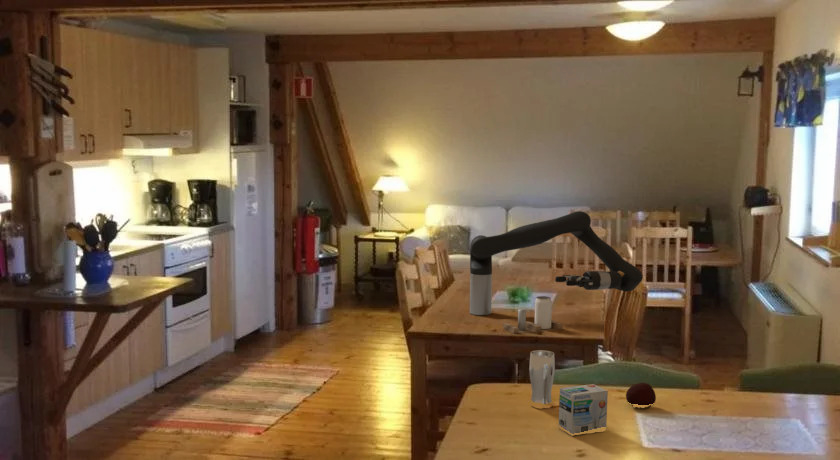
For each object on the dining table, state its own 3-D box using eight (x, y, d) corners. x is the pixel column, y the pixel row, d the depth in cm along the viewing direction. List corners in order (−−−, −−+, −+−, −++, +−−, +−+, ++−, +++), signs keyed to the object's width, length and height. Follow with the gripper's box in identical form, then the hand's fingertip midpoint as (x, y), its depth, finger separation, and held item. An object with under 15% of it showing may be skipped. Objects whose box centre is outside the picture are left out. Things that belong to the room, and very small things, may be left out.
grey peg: (516, 329, 325) (516, 309, 324) (523, 328, 326) (523, 308, 325) (520, 331, 322) (520, 310, 321) (527, 330, 323) (527, 309, 322)
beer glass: (538, 411, 229) (539, 357, 228) (523, 404, 235) (524, 351, 234) (558, 407, 233) (560, 354, 231) (544, 400, 239) (545, 348, 237)
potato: (619, 405, 235) (620, 381, 234) (644, 402, 238) (645, 378, 237) (636, 413, 228) (637, 388, 227) (661, 409, 231) (662, 385, 231)
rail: (502, 331, 326) (503, 323, 326) (550, 327, 334) (550, 319, 333) (513, 336, 318) (513, 328, 317) (562, 331, 325) (562, 324, 325)
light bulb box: (572, 437, 209) (573, 395, 208) (557, 428, 216) (558, 387, 214) (607, 431, 214) (609, 390, 212) (592, 423, 220) (593, 383, 219)
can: (550, 330, 324) (551, 299, 322) (533, 329, 325) (534, 298, 324) (551, 326, 330) (552, 296, 329) (535, 325, 331) (535, 295, 330)
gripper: (587, 268, 344) (552, 268, 338) (607, 274, 331) (571, 274, 325) (586, 286, 345) (551, 287, 339) (605, 292, 332) (570, 293, 326)
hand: (561, 281), depth 332 cm, fingers open, 8 cm apart
